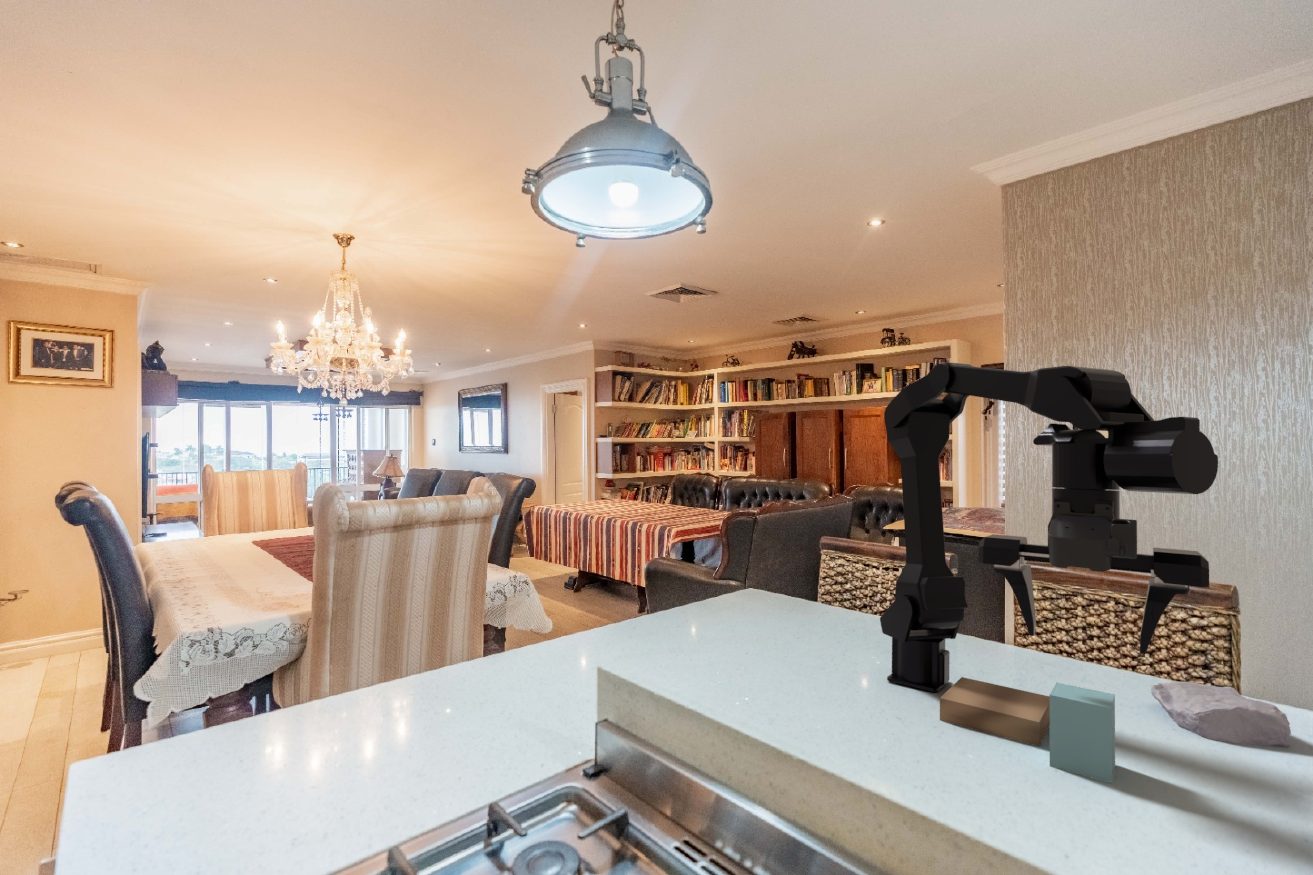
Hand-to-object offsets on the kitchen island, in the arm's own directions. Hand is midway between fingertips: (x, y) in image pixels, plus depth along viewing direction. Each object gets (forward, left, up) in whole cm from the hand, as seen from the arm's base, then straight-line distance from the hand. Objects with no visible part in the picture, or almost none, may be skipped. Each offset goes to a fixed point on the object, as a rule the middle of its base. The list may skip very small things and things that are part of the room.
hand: (1085, 643), depth 63 cm
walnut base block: (-9, +7, -12) cm, 17 cm away
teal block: (0, 0, -12) cm, 12 cm away
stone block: (+10, +24, -12) cm, 29 cm away
